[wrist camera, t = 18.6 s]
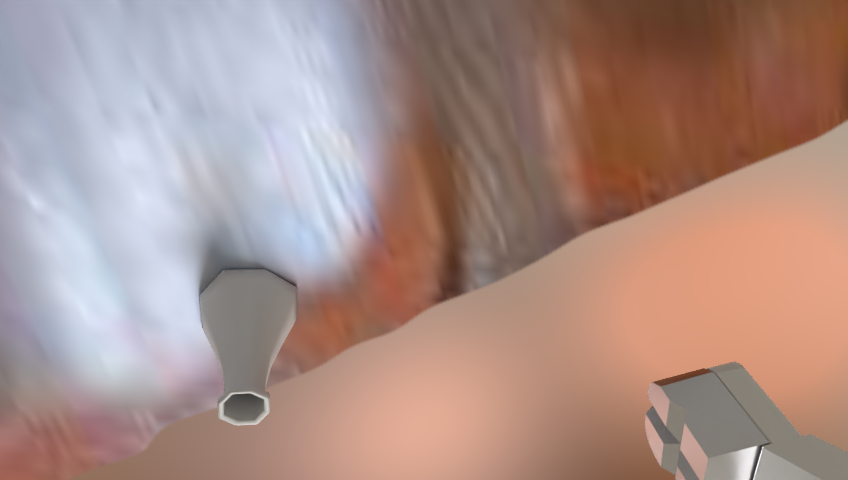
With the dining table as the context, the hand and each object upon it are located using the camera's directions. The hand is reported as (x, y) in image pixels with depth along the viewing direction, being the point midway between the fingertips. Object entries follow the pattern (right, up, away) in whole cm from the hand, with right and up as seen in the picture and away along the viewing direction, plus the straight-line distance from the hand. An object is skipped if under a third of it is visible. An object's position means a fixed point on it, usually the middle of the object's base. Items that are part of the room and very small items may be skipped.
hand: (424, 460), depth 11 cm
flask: (-13, -1, +36) cm, 39 cm away
